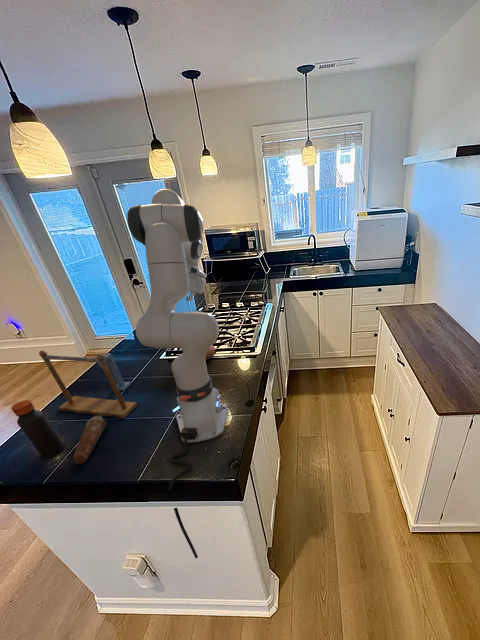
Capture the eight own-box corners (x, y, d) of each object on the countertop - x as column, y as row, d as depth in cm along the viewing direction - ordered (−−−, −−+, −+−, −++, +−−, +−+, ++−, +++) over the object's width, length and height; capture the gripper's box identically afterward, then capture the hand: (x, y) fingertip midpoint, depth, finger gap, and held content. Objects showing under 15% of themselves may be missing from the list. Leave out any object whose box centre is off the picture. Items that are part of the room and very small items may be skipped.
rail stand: (137, 405, 125) (113, 349, 111) (124, 418, 118) (96, 360, 105) (75, 398, 133) (45, 345, 119) (60, 410, 126) (26, 355, 112)
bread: (110, 425, 115) (103, 413, 112) (89, 465, 100) (81, 452, 96) (92, 428, 115) (85, 416, 112) (68, 468, 99) (60, 455, 96)
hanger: (121, 383, 140) (107, 351, 131) (131, 384, 138) (117, 351, 129) (109, 393, 134) (93, 360, 125) (120, 394, 132) (104, 360, 123)
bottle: (69, 445, 108) (39, 399, 97) (52, 460, 103) (18, 412, 91) (54, 443, 110) (22, 397, 99) (37, 457, 104) (1, 410, 93)
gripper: (163, 261, 143) (156, 291, 145) (202, 271, 139) (194, 302, 140) (171, 266, 150) (165, 295, 151) (209, 275, 145) (201, 305, 146)
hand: (179, 298), depth 146 cm, fingers open, 8 cm apart
